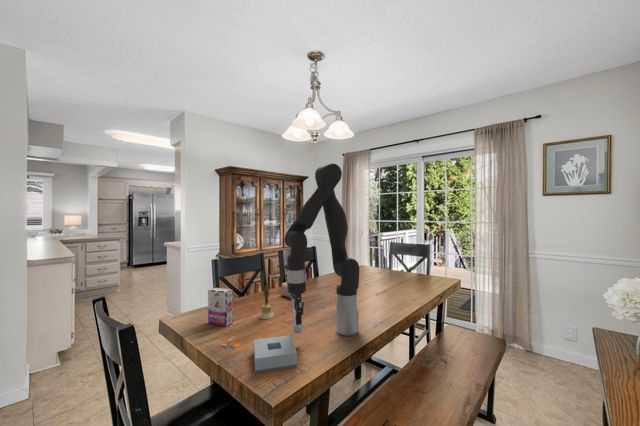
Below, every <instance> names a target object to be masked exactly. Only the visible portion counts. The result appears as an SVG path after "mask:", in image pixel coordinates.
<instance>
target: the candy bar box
mask: <svg viewBox="0 0 640 426" xmlns="http://www.w3.org/2000/svg"><path fill="white" fill-rule="evenodd" d="M233 296H234V291H233V289H231V288H223V287H213V288H209V289H208V291H207V297H208V299H207V301H208V303H207V304H208V305H207V307H208V308H207V309H208V315H207V316H208V318H207V319H208V321H207V322H208V324H210V325H216V326H221V327H228V326H230V325H232V324H233V322H234V312H233V311H234V308H233V307H234V302H233V301H234V298H233Z"/></svg>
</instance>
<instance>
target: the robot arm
mask: <svg viewBox="0 0 640 426" xmlns="http://www.w3.org/2000/svg"><path fill="white" fill-rule="evenodd" d="M314 176H315V177H314V178H315V183H316V185H317V188H316V189H315V191H314V192H313V193H312V194H311V196H310V197H309V198H308V200H307V201H306V202H305V203H304V204H303V206H302V208H301V210H300V211H299V214H298V216H297V217H296V220H294V221H293V223H292V224H291V225H290V227H289V228H288V230H287V231H286V232H285V234H284V244H285V245H286V246H287V247H289V248H291V249H290V254H289V255H288V256H287V261H286V262H287V272H286V273H287V274H286V282H287V289H288V293H290V294H291V298H290V299H291V308H292V309H293V303H294V309H295V315H296V325H301V324H302V325H303V315H304V305H305V303H304V298H303V296H302V294H305V293H306V291H307V278H306V277H307V275H306V274H307V272H306V261H305V258H306V254H307V248H308V238H307V234H305V232H306V231H307V230H310V229H311V228H312V227H313V225H314V223H315V221H316V219H317V217H318V214H319V213H320V212H321V209H323V213H324V218H325V219H324V220H325V225H326V229H327V233H328V238H329V239H328V240H329V245H330V249H331V259H332V267H333V268H332V269H333V271H334V273H335V274H336V276H338V277H341V278H340V284H339V285H337V286H336V289H335V290H336V291H335V293H336V294H335V295H336V297H335V298H336V299H335V300H336V301H335V302H336V305H335V307H336V312H335V313H336V314H335V316H336V317H335V320H336V321H335V322H336V323H335V324H336V325H335V327H336V328H335V332H336V333H337V334H338V335H341V336H347V337H348V336H354V335H356V334H358V333H359V315H360V314H359V313H360V312H359V310H358V290H359V285H360V265H359V262H358V260H356V259H355V258H352V257H349V256H348V253H347V249H346V240H347V236H348V229H349V227H348V226H349V224H348V221H347V215H346V212H345V209H344V208H343V206H342V205H341V203H340V201H339V200H338V198H337V196H336V192H335V188H336V187H337V186H338V184H339V182H340V181H341V179H342V176H343V175H342V169H341V166H339V165H338V164H337V163H331V162H330V163H327V164H324V165H320V166H319V167H317V169H316V170H315V173H314ZM296 306H297V307H296ZM298 311H300V312H298ZM301 315H302V317H301Z"/></svg>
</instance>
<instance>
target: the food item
mask: <svg viewBox="0 0 640 426" xmlns="http://www.w3.org/2000/svg"><path fill="white" fill-rule="evenodd" d="M281 295H282V296H283V297H286V298H288V299H291V294H290V293H288V289H287V281H285V282H283V283H281Z"/></svg>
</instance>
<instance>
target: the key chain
mask: <svg viewBox="0 0 640 426" xmlns="http://www.w3.org/2000/svg"><path fill="white" fill-rule="evenodd" d="M231 341H233V336H229V338H228V339H227V340H226V342H225V343H222V342H218V344H219V345H220V346H221V347H224V348H225V350H226V351H227V353H230V352H234V351H236V350H237V349H236V348H239V347H241V344H240V343H235V344H234V345H233V344H230V343H228V342H231ZM231 347H232V348H233V349H232V350H229V348H231Z"/></svg>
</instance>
